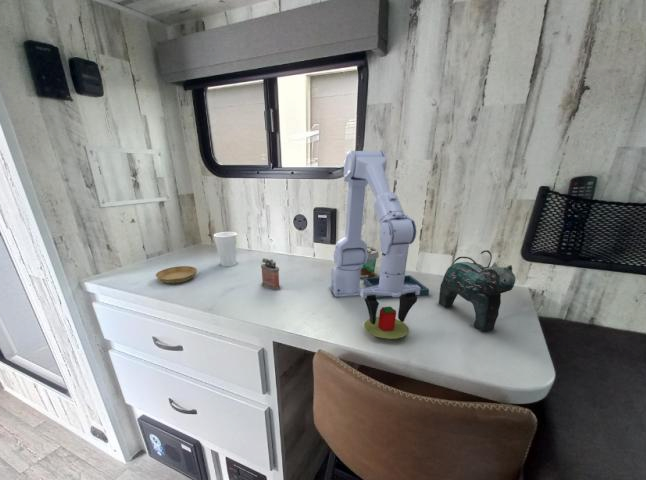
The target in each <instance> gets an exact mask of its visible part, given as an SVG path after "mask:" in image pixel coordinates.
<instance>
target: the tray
mask: <svg viewBox="0 0 646 480" xmlns="http://www.w3.org/2000/svg"><path fill="white" fill-rule="evenodd" d="M379 279H380V276H377V277H371V278H364V279H363V285H364V286H365V288H368V287H372V286H376V285H379ZM404 284H406V285H418V286H419V287H420V294H419V295H415V296H416V297H424V296H429V293H430V289H429V288H428V287H426V286H425V285H424V284H422V283H421V282H420V281H419V280H418V279H416V278H415V277H413V276H412V275H411V274H410V275H409V274H408V275H405V278H404ZM376 298H377V300H382V299H394V298H395V299H396V298H398V297H392V296H377V297H376Z"/></svg>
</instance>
